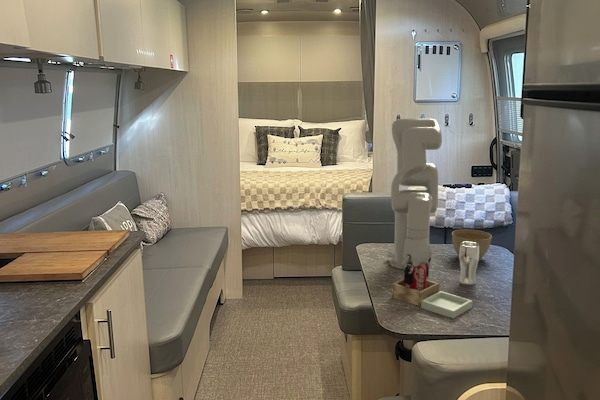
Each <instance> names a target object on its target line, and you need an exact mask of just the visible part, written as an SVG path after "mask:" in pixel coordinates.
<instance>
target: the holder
mask: <svg viewBox="0 0 600 400" xmlns="http://www.w3.org/2000/svg"><path fill="white" fill-rule="evenodd" d="M439 291H440V283H439V282H437V281H432V280H429V279H427V284H426V289H424V290H422V291H418V290H415V289H411V288H408V287H406V283H404V278H402V279H400V280H398V281H396V282H393V283H392V291H391V292H392V298H394V299H397V300H400V301H403V302H406V303H409V304H411V305H416V306H418V307H421V301H422V300H424V299H426V298H428V297H430V296H432V295H434V294H435V293H437V292H439Z"/></svg>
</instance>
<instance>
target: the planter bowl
mask: <svg viewBox="0 0 600 400" xmlns="http://www.w3.org/2000/svg"><path fill="white" fill-rule="evenodd" d="M492 238H493V236H492V234H490V232H486V231H482V230H477V229H476V230H475V229H467V228H466V229H465V228H464V229H456V230H453V231H452V232H451V241H452V246H453V248H454V251H455V252H456V254H457V257H458V258H459V254H460V246H461V243H462V242H474V243H477V244H479V260H478V262H479V261H480V262H481V261H482V260H483V259H482V258H483V257H485V255H486V253H487V252H488V251H489V249H490V246H491V241H492Z"/></svg>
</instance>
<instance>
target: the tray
mask: <svg viewBox="0 0 600 400" xmlns="http://www.w3.org/2000/svg"><path fill="white" fill-rule="evenodd" d="M420 308H421V309H424V310H427V311H430V312H433V313H436V314H439V315H441V316H445V317H448V318H449V319H450V318H451V319H455V318H457V317H458V316H460V315H462V314H463V313H465V312H467V311H468V310H470V309H472V308H473V300H472V299H469V298H465V297H462V296H459V295H455V294H452V293H449V292H445V291H442V290H439V292H437V293H435V294H434V295H432V296H430V297H428V298H426V299H424V300H422V301H421V306H420Z"/></svg>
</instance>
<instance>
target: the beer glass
mask: <svg viewBox="0 0 600 400" xmlns="http://www.w3.org/2000/svg"><path fill="white" fill-rule="evenodd" d="M458 259H459V267H460V275H459V276H460V277H459V281H458V283H460V284H462V285H464V286H474V285H476V283H477V280H476V272H477V268H478V264H479V261H478V260H479V244H477V243H474V242H462V243H461V246H460V254H459V257H458Z"/></svg>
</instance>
